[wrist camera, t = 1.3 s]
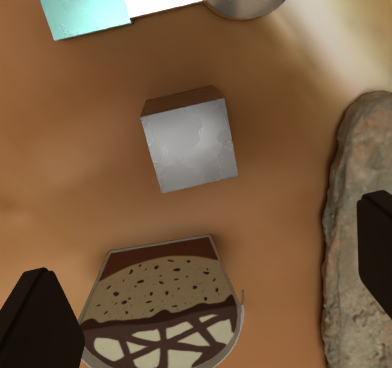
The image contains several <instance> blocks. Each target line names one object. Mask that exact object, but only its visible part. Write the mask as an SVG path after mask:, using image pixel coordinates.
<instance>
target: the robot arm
mask: <svg viewBox="0 0 392 368" xmlns="http://www.w3.org/2000/svg"><path fill="white" fill-rule="evenodd" d="M356 208H357V241H358V271H359V276H360V279H361V281H362V283H363V284H364V286H365V287H366V288H367V289H368V291H369V292H370V293H371V294H372V296H373V297H374V298H375V300H376V301H377V302H378V303H379V305H380V306H381V307H382V308H383V310H384V311H385V312H386V313H387V315H388V316H389V317H390V318H391V320H392V195H391V194H390V193H388V192H387V191H385V190H379V191H375V192H370V193H366V194H363V195H362V197H361V200H358V201H357V205H356ZM84 347H85V337H84V333H83V331H82V329H81V327H80V325H79V323H78V321H77V319H76V317H75V314H74V312H73V310H72V308H71V306H70V304H69V302H68V300H67V298H66V296H65V294H64V291H63V289H62V287H61V285H60V283H59V281H58V279H57V277H56V275H55V273H54V272H53V271H48V269H46V268H44V267H43V268H39V269H34V270H30V271H26V272H24V273H23V274H22V276H21V277H20V279H19V281H18V282H17V284H16V285H15V287H14V289H13V290H12V292H11V294H10V295H9V297H8V298H7V300H6V302H5V303H4V305H3V307H2V308H1V310H0V368H79V366H80V362H81V358H82V354H83V351H84Z"/></svg>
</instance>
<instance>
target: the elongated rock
mask: <svg viewBox="0 0 392 368" xmlns="http://www.w3.org/2000/svg"><path fill="white" fill-rule="evenodd" d="M337 140H338V143H339V144H338V150H337V154H336V156H335V159H334V162H333V164H332V165H331V168H330V177H329V180H330V187H329V189H328V191H327V197H328V199H327V203H326V206H325V210H324V215H323V218H322V225H323V227H324V228H323V232H324V234H325V241H326V253H325V261H324V262H323V263H322V267H321V275H322V277H323V280H324V283H323V287H324V289H323V296H324V302H323V306H324V310H323V311H322V322H321V335H322V339H323V341H324V353H325V355H326V359H327V361H328V368H392V320H391V318H390V317H389V316H388V315H387V313H386V312H385V311H384V310H383V308H382V307H381V306H380V305H379V303H378V302H377V301H376V300H375V298H374V297H373V296H372V294H371V293H370V292H369V291H368V289H367V288H366V287H365V286H364V284H363V283H362V281H361V279H360V276H359V271H358V241H357V208H356V205H357V201H358V200H361V197H362V195H363V194H366V193H370V192H375V191H379V190H385V191H387V192H388V193H390V194H391V195H392V93H389V92H386V91H379V92H373V93H366V94H364V95H362V96H361V97H360V98H359V99H358V101H357V102H355V103H353V104H352V105H350V107H349V108H348V109H347V110H346V111H345V117H344V120H343V121H342V123H341V125H340V128H339V130H338V136H337Z"/></svg>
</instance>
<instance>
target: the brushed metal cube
mask: <svg viewBox="0 0 392 368" xmlns="http://www.w3.org/2000/svg"><path fill="white" fill-rule="evenodd" d="M140 119H141V122H142V126H143V129H144V133H145V136H146V140H147V143H148V147H149V150H150V154H151V157H152V161H153V164H154V168H155V171H156V175H157V178H158V182H159V186H160V189H161V193H167V192H171V191H175V190H180V189H184V188H189V187H193V186H197V185H202V184H206V183H211V182H215V181H219V180H224V179H228V178H233V177H237V176H238V171H237V165H236V160H235V154H234V149H233V143H232V137H231V132H230V126H229V121H228V115H227V109H226V104H225V98H224V97H223V96H222V95H221V94H220V93H219V91H218V90H217V89H216V88H215V87H214V86H213V85H211V86H207V87H203V88H199V89H194V90H190V91H186V92H181V93H177V94H173V95H168V96H164V97H160V98H156V99H151V100H147V101H146V103H145V106H144V108H143V111H142V114H141V117H140Z"/></svg>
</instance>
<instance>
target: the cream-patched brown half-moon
mask: <svg viewBox="0 0 392 368" xmlns="http://www.w3.org/2000/svg"><path fill="white" fill-rule="evenodd" d="M243 319H244V290H242V302H241V304H240V303H239V301H238V298H237V296H236V294H235V291H234V289H233V287H232V284H231V282H230V279H229V277H228V275H227V272H226V270H225V267H224V265H223V263H222V260H221V258H220V256H219V253H218V251H217V248H216V246H215V244H214V241H213V239H212V237H211V234H207V235H201V236H195V237H189V238H183V239H177V240H171V241H165V242H159V243H153V244H147V245H141V246H135V247H129V248H123V249H117V250H111V251H109V252H108V254H107V257H106V259H105V261H104V263H103V265H102V268H101V270H100V272H99V274H98V277H97V279H96V281H95V283H94V286H93V288H92V290H91V292H90V294H89V297H88V299H87V301H86V303H85V306H84V308H83V310H82V312H81V315H80V317H79V319H78V323H79V325H80V327H81V329H82V331H83V333H84V337H85V347H84V351H83V354H82V358H81V360H82V361H83V362H84V363H85V364H86V365H87V366H88V367H90V368H215V367H216V366H217V365H218V364H220V363H221V362H222V361H223V360H224V359H225V358H226V357H227V356H228V354H229V353H230V352H231V351H232V349H233V347H234V346H235V344H236V343H237V340H238V337H239V335H240V332H241V328H242V325H243Z"/></svg>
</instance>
